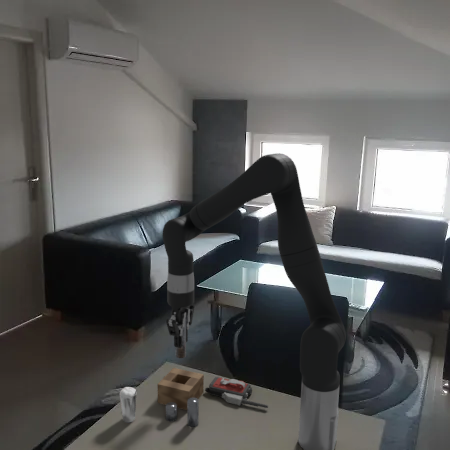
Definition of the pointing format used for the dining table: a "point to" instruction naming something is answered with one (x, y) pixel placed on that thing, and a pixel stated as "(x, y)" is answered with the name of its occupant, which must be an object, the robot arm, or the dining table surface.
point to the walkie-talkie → (232, 391)
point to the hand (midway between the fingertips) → (181, 344)
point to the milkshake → (128, 403)
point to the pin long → (182, 351)
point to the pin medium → (192, 412)
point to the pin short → (171, 411)
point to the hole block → (180, 387)
